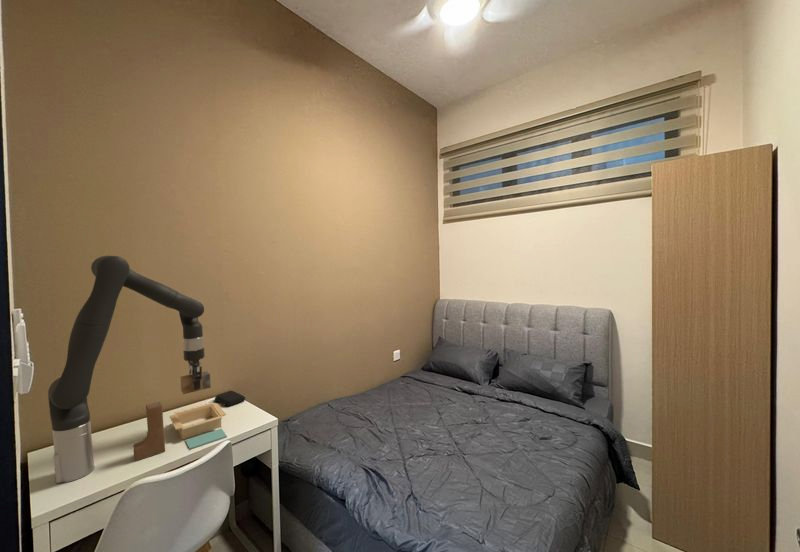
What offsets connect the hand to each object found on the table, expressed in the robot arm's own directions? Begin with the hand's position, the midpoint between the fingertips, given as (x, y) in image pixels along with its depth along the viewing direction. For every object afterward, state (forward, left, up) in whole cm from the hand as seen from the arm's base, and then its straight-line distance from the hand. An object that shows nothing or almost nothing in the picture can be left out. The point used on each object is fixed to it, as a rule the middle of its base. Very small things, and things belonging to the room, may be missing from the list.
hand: (195, 387), depth 146 cm
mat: (0, -14, -17) cm, 22 cm away
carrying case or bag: (+17, +18, -18) cm, 31 cm away
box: (0, 0, -1) cm, 1 cm away
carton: (0, 0, -17) cm, 17 cm away
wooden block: (-18, -11, -17) cm, 27 cm away
